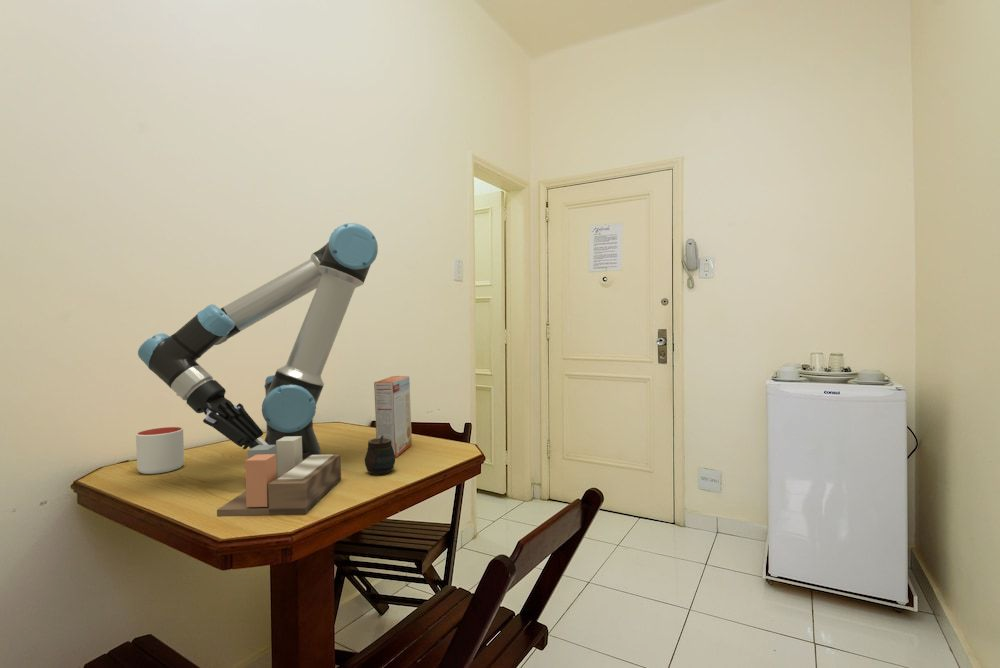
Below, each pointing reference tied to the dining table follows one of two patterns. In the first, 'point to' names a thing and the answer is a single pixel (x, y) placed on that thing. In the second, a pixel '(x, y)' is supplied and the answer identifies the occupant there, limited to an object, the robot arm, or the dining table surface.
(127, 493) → the dining table surface
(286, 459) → the ivory key
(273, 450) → the slate key
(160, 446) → the cup
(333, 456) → the key console
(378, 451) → the mate gourd
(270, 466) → the pink tall block
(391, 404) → the cracker box
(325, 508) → the dining table surface
